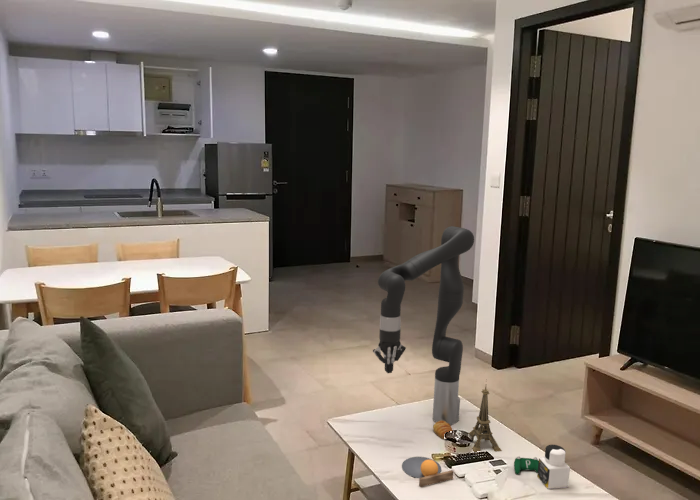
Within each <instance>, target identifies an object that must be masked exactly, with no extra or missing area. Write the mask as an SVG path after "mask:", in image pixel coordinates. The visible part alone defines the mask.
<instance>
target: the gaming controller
mask: <svg viewBox="0 0 700 500" xmlns="http://www.w3.org/2000/svg"><path fill="white" fill-rule="evenodd" d="M538 462H539V458H538V457H536V456H535V457H533V458H530V457H529V458H528V457H521V456H520V455H519V456H516V457H515V458H514V462H513V468H514V469H513V471H514V474H515V475H520V473H521V470H522V471H524V470H525V471H527V470H528V471H535V472H536V474H537V473H538Z"/></svg>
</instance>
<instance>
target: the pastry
mask: <svg viewBox="0 0 700 500" xmlns="http://www.w3.org/2000/svg"><path fill="white" fill-rule="evenodd" d="M432 430H433V433H434V434H435V435H436V436H437V437H439V438H440V439H441V440H444V434H445V433H446V432H449V431H453V432H454V430H453V428H452V425H450V424H449V423H446V421H438V422H434V424H433V429H432Z"/></svg>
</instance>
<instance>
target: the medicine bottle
mask: <svg viewBox="0 0 700 500" xmlns="http://www.w3.org/2000/svg"><path fill="white" fill-rule="evenodd" d="M566 454H567V453H566V450H565V448H564V447H563V446H561V445H557V444H548V445H547V446H546V447H545V452H544V456H539V457H538V461H539V462H538V473H537V472H536V474H537V478H538V479H539V480H540V481H541V483H542V484H543V485H544V487H545V488H546V489H547V490H550V489H551V490H552V489H563V488H564V489H565V488H569V481H570V472H571V467H570V465H568V463H566V462H565V461H566Z"/></svg>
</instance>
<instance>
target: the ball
mask: <svg viewBox="0 0 700 500" xmlns="http://www.w3.org/2000/svg"><path fill="white" fill-rule="evenodd" d="M433 460H434V459H432V460H425V461H424V462H423V463H422V464H421V472H422V474H423V475H424V476H425V477H426V476H430V475H434V474H437V473H438V466H437V464H436V462H437V461H436V462H434V461H435V460H434V461H433Z"/></svg>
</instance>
